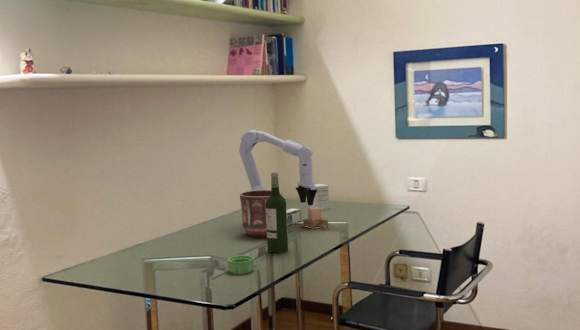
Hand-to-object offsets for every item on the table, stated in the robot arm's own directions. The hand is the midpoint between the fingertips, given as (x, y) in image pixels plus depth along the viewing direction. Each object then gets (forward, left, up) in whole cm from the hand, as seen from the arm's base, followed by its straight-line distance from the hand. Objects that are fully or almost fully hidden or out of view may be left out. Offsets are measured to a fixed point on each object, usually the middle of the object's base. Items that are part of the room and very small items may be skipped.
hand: (306, 203), depth 275 cm
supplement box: (+23, +34, -11) cm, 42 cm away
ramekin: (-49, -51, -11) cm, 72 cm away
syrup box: (+2, +14, -7) cm, 16 cm away
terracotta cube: (+3, -2, -7) cm, 8 cm away
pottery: (-23, -4, -10) cm, 26 cm away
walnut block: (+3, -2, -11) cm, 11 cm away
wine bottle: (-28, -33, -10) cm, 45 cm away
